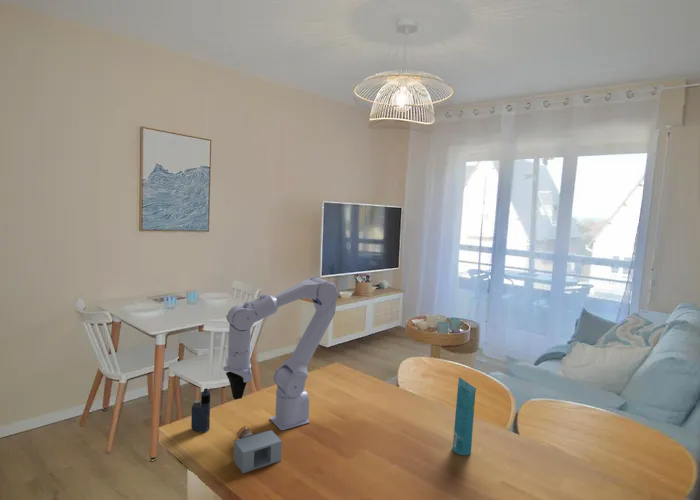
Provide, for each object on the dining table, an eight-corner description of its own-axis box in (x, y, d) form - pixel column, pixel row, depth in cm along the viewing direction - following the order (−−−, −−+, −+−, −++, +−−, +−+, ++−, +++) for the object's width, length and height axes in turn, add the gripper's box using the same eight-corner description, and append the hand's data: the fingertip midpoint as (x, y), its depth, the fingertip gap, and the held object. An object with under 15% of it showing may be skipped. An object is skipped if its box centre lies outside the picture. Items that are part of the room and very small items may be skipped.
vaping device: (206, 433, 114) (207, 391, 113) (189, 430, 115) (190, 389, 114) (211, 428, 117) (212, 387, 115) (194, 426, 118) (195, 385, 116)
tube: (477, 456, 110) (483, 386, 108) (463, 460, 108) (469, 389, 106) (459, 441, 116) (464, 376, 115) (445, 445, 114) (450, 378, 112)
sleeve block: (281, 460, 103) (281, 441, 103) (242, 473, 98) (243, 452, 97) (270, 447, 109) (270, 429, 108) (233, 459, 103) (233, 439, 102)
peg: (260, 450, 106) (260, 437, 106) (246, 454, 104) (247, 441, 103) (250, 437, 112) (250, 424, 111) (237, 441, 110) (237, 428, 109)
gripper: (216, 344, 116) (214, 390, 117) (233, 360, 104) (232, 412, 105) (240, 341, 120) (238, 386, 121) (260, 356, 108) (258, 406, 110)
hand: (237, 397), depth 114 cm, fingers closed
